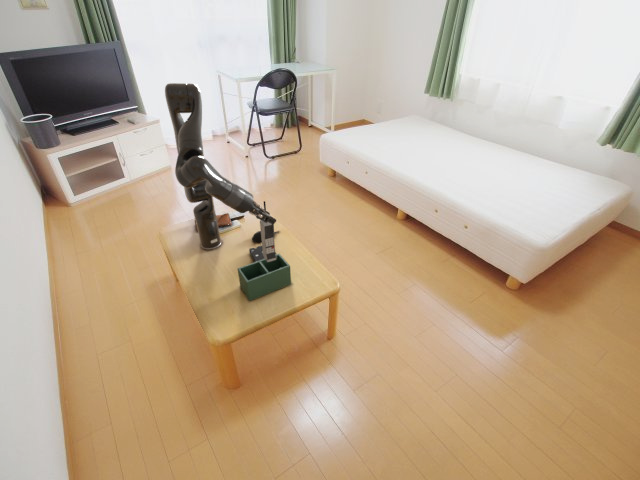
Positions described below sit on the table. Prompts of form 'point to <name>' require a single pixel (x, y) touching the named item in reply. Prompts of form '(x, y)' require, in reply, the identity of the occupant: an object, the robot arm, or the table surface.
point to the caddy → (264, 277)
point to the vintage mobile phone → (267, 239)
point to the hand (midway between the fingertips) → (271, 218)
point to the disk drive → (257, 253)
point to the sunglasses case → (221, 220)
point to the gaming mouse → (258, 237)
